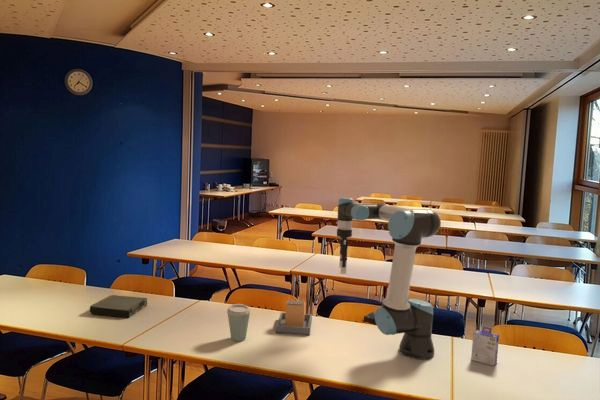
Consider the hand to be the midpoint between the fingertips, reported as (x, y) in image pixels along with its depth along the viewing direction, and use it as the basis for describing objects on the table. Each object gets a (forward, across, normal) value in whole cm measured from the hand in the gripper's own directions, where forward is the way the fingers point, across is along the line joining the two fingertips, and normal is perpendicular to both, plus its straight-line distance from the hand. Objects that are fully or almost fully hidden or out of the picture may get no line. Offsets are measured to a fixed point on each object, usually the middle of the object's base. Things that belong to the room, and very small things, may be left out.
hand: (342, 270), depth 243 cm
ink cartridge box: (+29, +36, +60) cm, 76 cm away
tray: (+28, +8, -23) cm, 37 cm away
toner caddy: (+27, +8, -23) cm, 36 cm away
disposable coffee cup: (+28, +28, -48) cm, 62 cm away
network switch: (+27, -1, -114) cm, 118 cm away
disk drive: (+28, -8, +22) cm, 36 cm away
